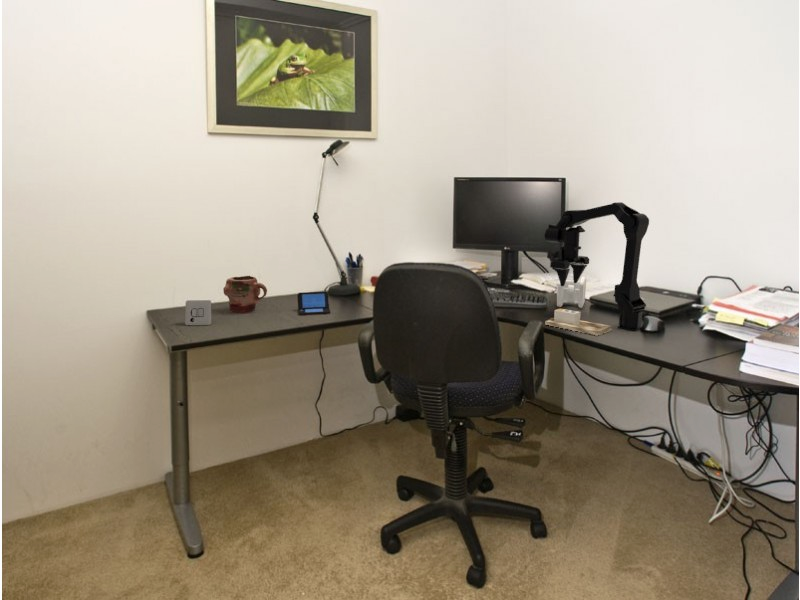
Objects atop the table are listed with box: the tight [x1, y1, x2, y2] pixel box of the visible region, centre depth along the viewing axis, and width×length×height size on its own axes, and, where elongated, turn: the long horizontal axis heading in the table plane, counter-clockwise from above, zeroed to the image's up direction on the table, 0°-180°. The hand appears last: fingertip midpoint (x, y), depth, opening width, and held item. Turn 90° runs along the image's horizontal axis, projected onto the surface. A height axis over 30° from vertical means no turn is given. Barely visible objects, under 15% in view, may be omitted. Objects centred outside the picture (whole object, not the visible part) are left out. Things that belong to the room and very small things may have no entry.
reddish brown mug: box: [222, 275, 268, 314], centre depth 228 cm, size 20×12×14 cm, turn 77°
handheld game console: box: [296, 291, 331, 316], centre depth 227 cm, size 12×11×7 cm
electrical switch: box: [184, 299, 213, 326], centre depth 209 cm, size 9×5×9 cm, turn 90°
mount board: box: [544, 317, 613, 337], centre depth 198 cm, size 20×10×2 cm, turn 43°
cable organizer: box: [556, 276, 587, 309], centre depth 233 cm, size 15×11×12 cm
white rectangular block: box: [553, 307, 582, 326], centre depth 201 cm, size 8×4×5 cm, turn 43°
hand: (568, 284), depth 215 cm, fingers open, 9 cm apart
